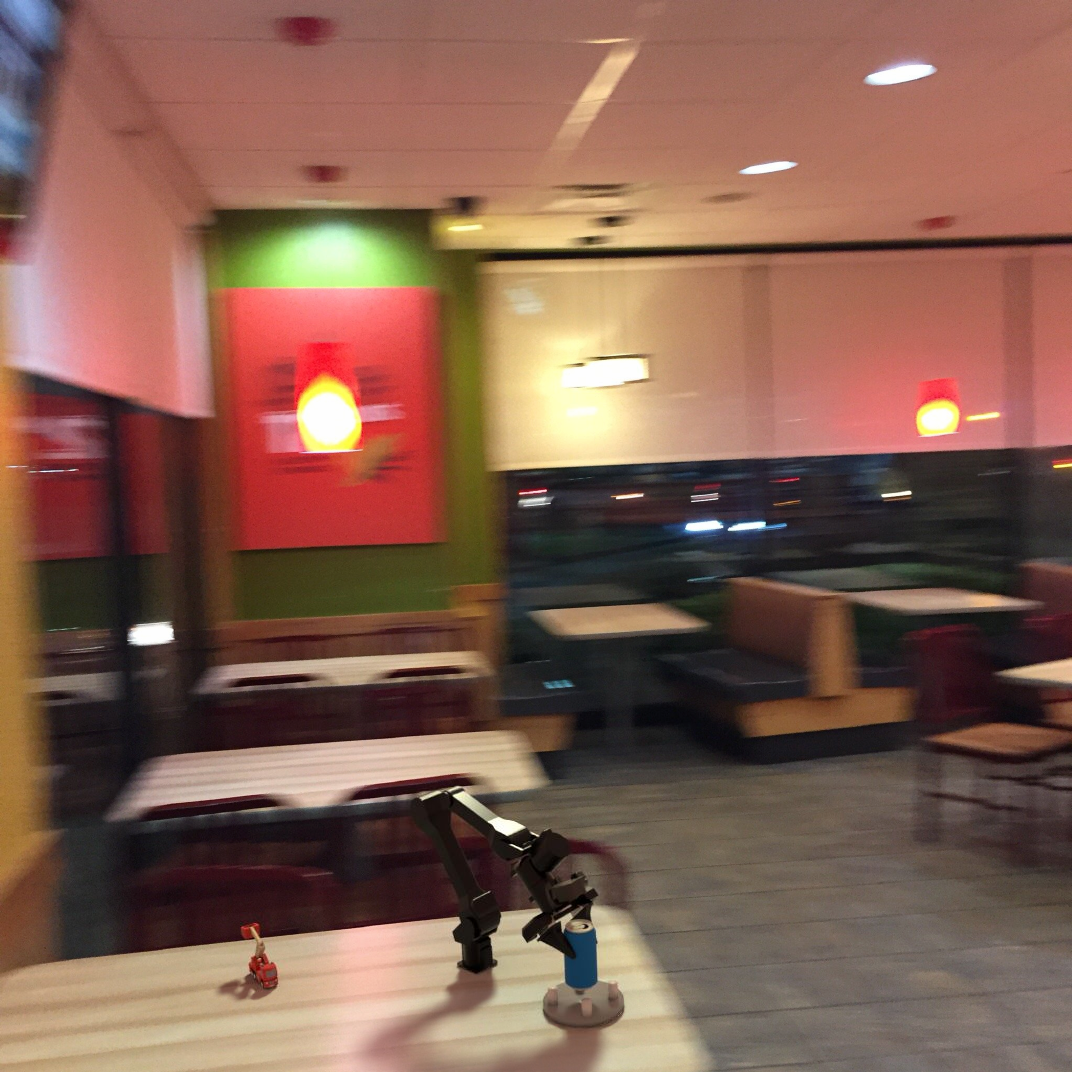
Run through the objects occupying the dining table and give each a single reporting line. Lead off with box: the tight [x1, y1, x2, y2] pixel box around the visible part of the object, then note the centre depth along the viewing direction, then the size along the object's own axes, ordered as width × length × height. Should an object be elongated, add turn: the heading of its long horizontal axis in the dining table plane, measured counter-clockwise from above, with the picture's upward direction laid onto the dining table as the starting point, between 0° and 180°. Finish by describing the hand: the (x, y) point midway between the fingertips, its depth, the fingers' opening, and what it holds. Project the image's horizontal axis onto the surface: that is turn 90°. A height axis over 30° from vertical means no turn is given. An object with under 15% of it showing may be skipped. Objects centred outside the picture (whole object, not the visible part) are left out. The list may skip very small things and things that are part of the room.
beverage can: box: [562, 919, 599, 991], centre depth 205 cm, size 6×6×12 cm
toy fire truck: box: [240, 922, 279, 989], centre depth 224 cm, size 3×14×10 cm, turn 34°
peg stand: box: [542, 979, 625, 1029], centre depth 206 cm, size 16×16×4 cm
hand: (585, 951), depth 204 cm, fingers closed on beverage can, 6 cm apart
